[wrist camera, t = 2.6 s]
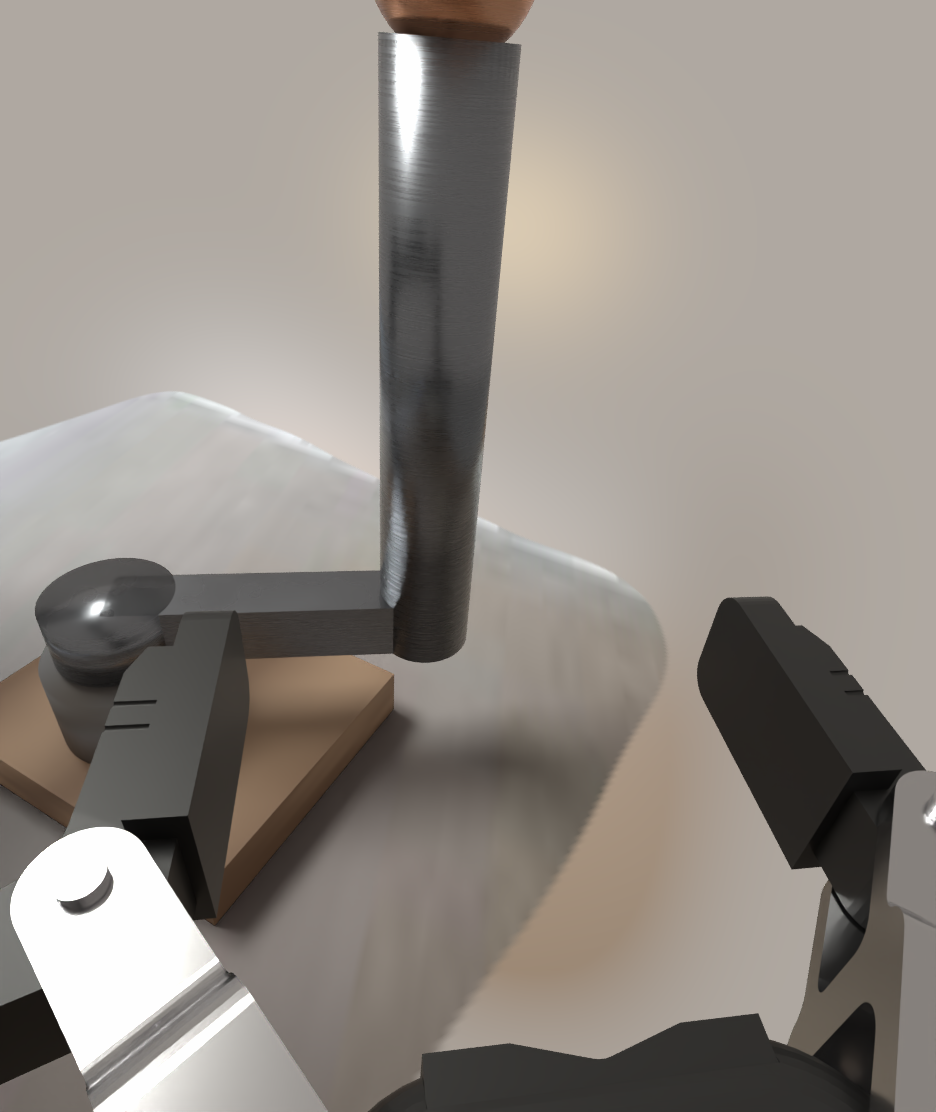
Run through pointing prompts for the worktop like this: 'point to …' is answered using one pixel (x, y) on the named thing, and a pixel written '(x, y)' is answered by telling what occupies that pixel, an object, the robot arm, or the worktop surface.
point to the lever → (405, 384)
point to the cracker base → (268, 755)
